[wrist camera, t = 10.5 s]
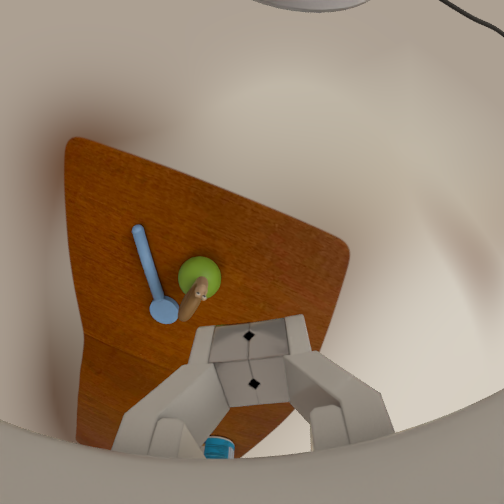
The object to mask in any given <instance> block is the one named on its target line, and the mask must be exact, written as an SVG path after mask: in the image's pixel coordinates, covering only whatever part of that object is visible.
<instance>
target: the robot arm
mask: <svg viewBox="0 0 504 504" xmlns="http://www.w3.org/2000/svg"><path fill="white" fill-rule="evenodd" d="M440 1H441V2H443V3H444V4H446V5H448V6H449V7H451V8H452V9H454V10H455V11H457V12H459V13H460V14H462V15H464V16H466V17H467V18H469V19H471V20H473V21H475V22H477V23H479V24H481V25H484V26H486V27H488V28H490V29H493V30H494V31H496V32H498V33H499V34H500V35H502V36H503V37H504V32H503V31H501V30H500V29H499V28H497V27H496V26H494V25H492V24H490V23H488V22H485V21H483V20H481V19H478V18H476V17H474V16H472V15H471V14H469V13H467V12H466V11H464V10H462V9H460V8H459V7H457V6H456V5H454V4H452V3H451V2H449V1H448V0H440ZM281 402H290V404H291V405H292V406H293V407H294V408H295V409H296V410H297V411H298V412H299V413H300V414H301V415H302V416H303V417H304V419H305V420H306V421H307V422H308V423H309V424H310V437H311V452H305V453H298V454H289V455H281V456H270V457H257V458H236V459H206V457H205V456H204V454H203V453H202V451H201V450H200V447H201V446H202V445H203V444H204V442H205V441H206V440H207V438H208V437H209V436H210V434H211V433H212V432H213V431H214V429H215V428H216V427H217V425H218V424H219V423H220V421H221V420H222V419H223V417H224V416H225V415H226V413H227V412H228V411H229V407H239V406H249V405H258V404H270V403H281ZM0 504H504V389H502V390H500V391H498V392H496V393H494V394H493V395H491V396H489V397H487V398H485V399H482V400H480V401H478V402H476V403H474V404H472V405H469V406H467V407H465V408H463V409H460V410H458V411H456V412H453V413H451V414H449V415H446V416H443V417H441V418H438V419H435V420H433V421H430V422H427V423H424V424H421V425H418V426H416V427H412V428H409V429H406V430H403V431H400V432H396V433H395V431H394V429H393V426H392V423H391V420H390V417H389V415H388V412H387V410H386V407H385V404H384V401H383V399H382V396H381V393H379V392H378V391H376V390H375V389H373V388H372V387H370V386H369V385H367V384H366V383H364V382H362V381H361V380H359V379H358V378H356V377H355V376H353V375H352V374H350V373H349V372H347V371H346V370H344V369H343V368H341V367H340V366H339V365H337V364H335V363H334V362H333V361H331V360H330V359H328V358H327V357H325V356H324V355H322V354H321V353H320V352H318V351H311V347H310V342H309V338H308V333H307V329H306V325H305V320H304V316H303V315H302V314H299V315H294V316H288V317H285V319H284V318H279V319H272V320H265V321H258V322H247V323H237V324H226V325H216V326H204V327H199V328H198V329H197V331H196V334H195V338H194V342H193V346H192V350H191V354H190V357H189V361H188V365H182V366H181V367H180V368H179V369H177V370H176V371H175V372H174V373H173V374H172V375H170V376H169V377H168V378H167V379H166V380H165V381H163V382H162V383H161V384H160V385H159V386H157V387H156V388H155V389H154V390H153V391H151V392H150V393H149V394H148V395H147V396H145V397H144V398H143V399H142V400H141V401H139V402H138V403H137V404H136V405H135V406H133V407H132V408H131V409H130V410H128V411H127V412H126V413H125V414H124V416H123V419H122V422H121V424H120V427H119V430H118V432H117V435H116V438H115V441H114V444H113V446H112V449H111V450H106V449H101V448H96V447H91V446H86V445H81V444H77V443H73V442H68V441H64V440H61V439H57V438H53V437H49V436H46V435H43V434H40V433H36V432H33V431H30V430H27V429H24V428H21V427H18V426H16V425H13V424H10V423H7V422H5V421H2V420H0Z"/></svg>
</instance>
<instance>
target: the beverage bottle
mask: <svg viewBox="0 0 504 504" xmlns="http://www.w3.org/2000/svg"><path fill="white" fill-rule="evenodd" d="M200 450H201V451H202V453H203V454H204V456H205V457H206V459H234V444H233V442H232V441H230V440H229V439H227V438H224V437H219V436H209V437H208V438H207V440H206V441H205V442H204V444H203V445H202V446H201V447H200Z"/></svg>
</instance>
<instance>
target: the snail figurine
mask: <svg viewBox="0 0 504 504" xmlns="http://www.w3.org/2000/svg"><path fill="white" fill-rule="evenodd" d="M178 282H179V285H180V288H181V289H182V291H183V292H184V293H185V294H186V295H185V296H184V298H183V300H182V302H181V304H180V307H179V311H178V318H179V320H181V321H187V320H188V319H189V318H190V317H191V316H192V315H193V313H194V312H195V310H196V309H197V307H198V305H199V304H200V302H201V300H203V301H204V300H206V299H207V298H209V297H211V296H212V295H214V294H215V293H216V292H217V290H218V289H219V286H220V283H221V273H220V270H219V268H218V266H217V265H216V264H215V263H214V262H213V261H212V260H211V259H209V258H206V257H202V256H197V257H193V258H190V259H188V260H187V261H186V262H185V263H184V264H183V265H182V266H181V268H180V270H179V274H178Z"/></svg>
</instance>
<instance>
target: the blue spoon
mask: <svg viewBox="0 0 504 504" xmlns="http://www.w3.org/2000/svg"><path fill="white" fill-rule="evenodd" d="M132 233H133V237H134V240H135V243H136V247H137V250H138V253H139V256H140V260H141V263H142V266H143V269H144V272H145V275H146V278H147V281H148V284H149V286H150V289H151V292H152V295H153V298H154V299H153V301H152V303H151V305H150V313H151V315H152V317H153V318H154V319H155V320H157V321H158V322H160V323H164V324H170V323H173V322H175V321H176V320H177V318H178V311H179V306H178V304H177V302H176V301H175V300H174V299H172V298H170V297H168V296H164V293H163V290H162V287H161V284H160V281H159V278H158V275H157V272H156V269H155V265H154V262H153V259H152V256H151V252H150V249H149V246H148V242H147V239H146V235H145V232H144V228H143V227H142V226H141V225H135V226H134V227H133V228H132Z"/></svg>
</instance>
